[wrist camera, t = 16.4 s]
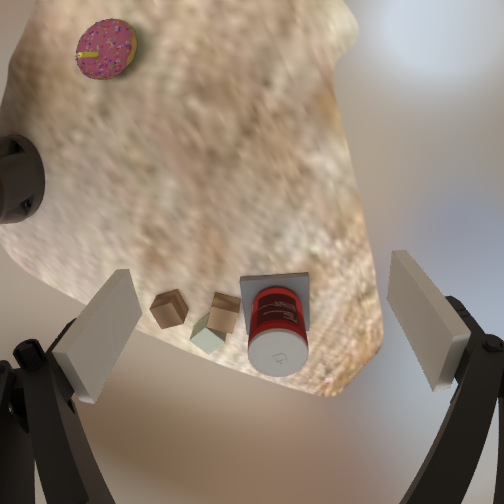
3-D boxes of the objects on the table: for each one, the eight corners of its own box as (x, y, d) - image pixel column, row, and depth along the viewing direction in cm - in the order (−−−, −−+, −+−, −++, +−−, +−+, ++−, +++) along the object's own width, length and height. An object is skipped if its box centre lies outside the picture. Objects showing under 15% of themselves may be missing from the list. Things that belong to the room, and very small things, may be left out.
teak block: (210, 312, 51) (206, 327, 48) (215, 291, 50) (211, 306, 46) (234, 318, 51) (232, 333, 48) (240, 298, 50) (238, 313, 46)
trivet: (247, 330, 52) (247, 334, 51) (240, 277, 48) (239, 281, 47) (308, 326, 51) (309, 330, 50) (307, 272, 47) (308, 276, 46)
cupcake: (152, 70, 36) (112, 59, 25) (98, 90, 37) (48, 89, 26) (142, 17, 33) (103, -8, 22) (90, 38, 34) (41, 25, 23)
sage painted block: (212, 339, 54) (208, 354, 50) (194, 325, 52) (189, 340, 49) (227, 326, 52) (224, 342, 49) (209, 312, 51) (205, 327, 48)
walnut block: (168, 314, 52) (161, 329, 48) (156, 295, 50) (149, 309, 47) (188, 309, 51) (183, 323, 48) (177, 288, 50) (171, 302, 46)
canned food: (272, 335, 51) (272, 385, 41) (240, 302, 48) (233, 350, 38) (312, 311, 49) (321, 360, 39) (282, 275, 46) (285, 321, 36)
